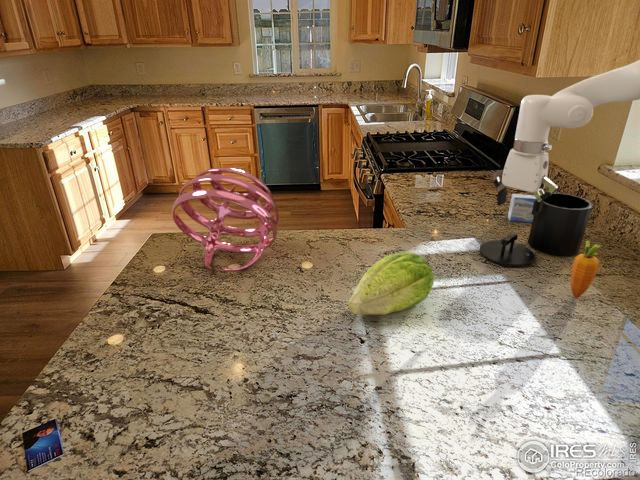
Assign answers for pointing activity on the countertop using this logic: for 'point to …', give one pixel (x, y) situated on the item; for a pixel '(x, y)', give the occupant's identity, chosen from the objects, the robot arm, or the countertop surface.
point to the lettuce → (392, 285)
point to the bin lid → (507, 252)
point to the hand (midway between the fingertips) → (517, 208)
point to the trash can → (560, 225)
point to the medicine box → (521, 208)
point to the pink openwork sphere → (228, 213)
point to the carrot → (584, 270)
